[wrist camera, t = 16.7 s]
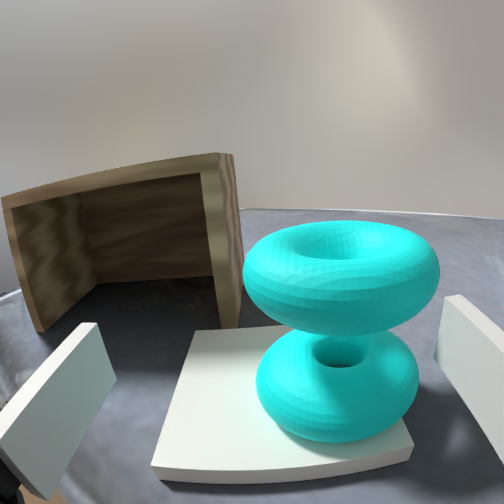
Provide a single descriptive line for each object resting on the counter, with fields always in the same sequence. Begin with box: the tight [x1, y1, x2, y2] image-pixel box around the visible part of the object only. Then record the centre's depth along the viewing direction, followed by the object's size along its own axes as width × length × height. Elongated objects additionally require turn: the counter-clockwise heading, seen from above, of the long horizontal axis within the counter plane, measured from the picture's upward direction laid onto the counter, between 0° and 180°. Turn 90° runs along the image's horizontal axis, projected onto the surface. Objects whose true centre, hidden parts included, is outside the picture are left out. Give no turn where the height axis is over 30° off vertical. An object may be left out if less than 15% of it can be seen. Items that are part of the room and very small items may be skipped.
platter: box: [151, 325, 414, 484], centre depth 20 cm, size 15×14×2 cm
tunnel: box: [1, 152, 244, 332], centre depth 37 cm, size 18×25×16 cm
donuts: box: [243, 221, 440, 443], centre depth 17 cm, size 10×10×10 cm
